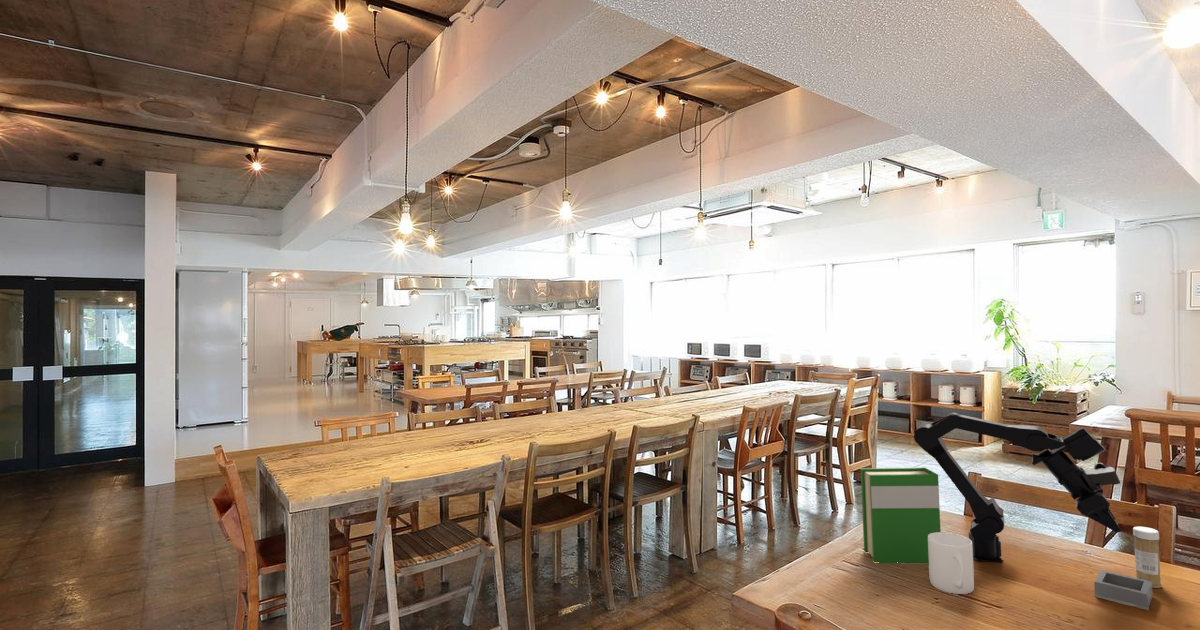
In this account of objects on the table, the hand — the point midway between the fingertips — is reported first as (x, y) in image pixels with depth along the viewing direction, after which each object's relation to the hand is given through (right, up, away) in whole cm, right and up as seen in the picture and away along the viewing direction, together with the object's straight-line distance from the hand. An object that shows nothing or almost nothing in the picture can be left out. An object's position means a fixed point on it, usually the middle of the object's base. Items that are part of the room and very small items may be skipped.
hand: (1116, 525), depth 141 cm
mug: (-41, -15, -1) cm, 44 cm away
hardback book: (-44, -16, +17) cm, 50 cm away
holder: (-5, -14, -8) cm, 17 cm away
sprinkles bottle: (+6, -14, -2) cm, 15 cm away
